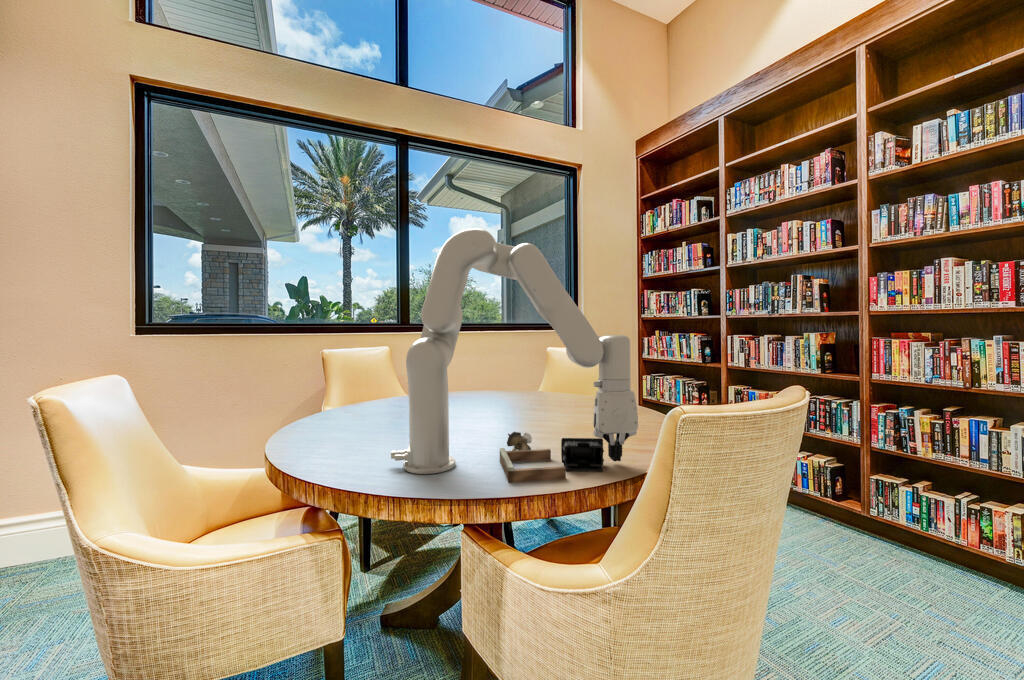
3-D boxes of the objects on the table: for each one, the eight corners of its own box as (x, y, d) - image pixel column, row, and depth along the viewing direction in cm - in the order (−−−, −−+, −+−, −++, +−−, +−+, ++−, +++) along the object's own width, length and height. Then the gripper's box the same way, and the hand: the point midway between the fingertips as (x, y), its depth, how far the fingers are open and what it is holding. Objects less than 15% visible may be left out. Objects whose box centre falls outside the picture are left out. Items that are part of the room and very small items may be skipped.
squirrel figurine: (500, 446, 122) (500, 449, 113) (514, 424, 123) (515, 425, 114) (523, 461, 122) (525, 465, 113) (537, 439, 123) (540, 441, 114)
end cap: (601, 462, 111) (601, 435, 111) (605, 471, 104) (605, 443, 104) (561, 461, 112) (561, 435, 111) (562, 471, 105) (562, 442, 104)
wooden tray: (508, 482, 97) (508, 467, 97) (499, 461, 113) (499, 448, 112) (565, 479, 99) (565, 464, 99) (549, 458, 115) (549, 445, 114)
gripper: (590, 389, 104) (591, 466, 104) (650, 386, 106) (650, 462, 106) (580, 384, 111) (581, 457, 112) (636, 382, 113) (637, 453, 114)
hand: (615, 459), depth 109 cm, fingers closed
